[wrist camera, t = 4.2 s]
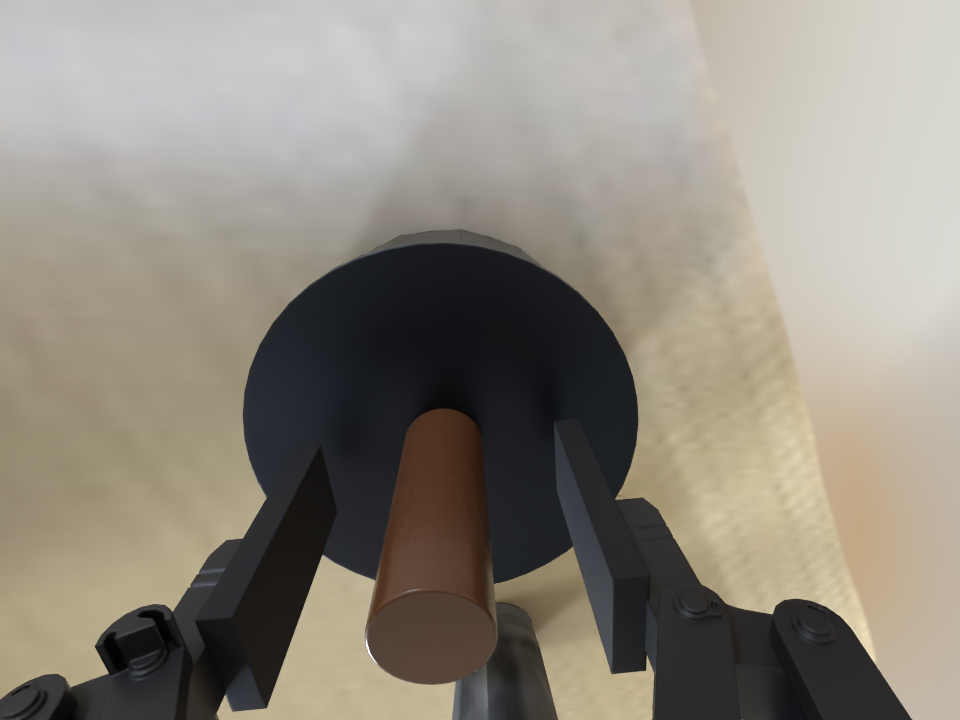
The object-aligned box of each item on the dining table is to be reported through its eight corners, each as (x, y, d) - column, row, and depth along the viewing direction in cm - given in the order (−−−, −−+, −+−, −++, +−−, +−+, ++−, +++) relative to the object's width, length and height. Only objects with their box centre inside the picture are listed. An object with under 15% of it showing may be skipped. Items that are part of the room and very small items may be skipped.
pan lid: (302, 586, 21) (198, 860, 13) (205, 260, 16) (-78, 361, 8) (625, 553, 21) (735, 807, 13) (633, 217, 16) (824, 271, 8)
